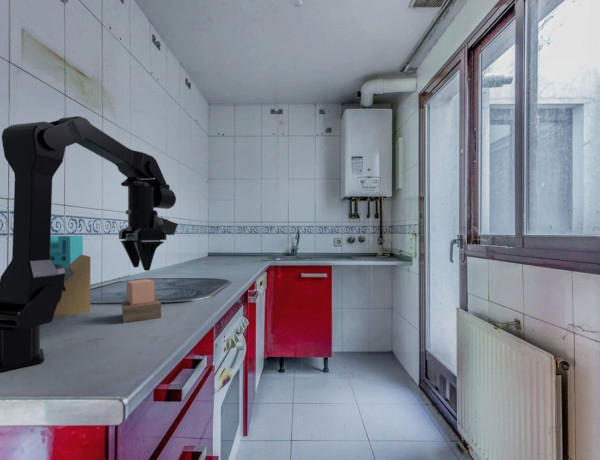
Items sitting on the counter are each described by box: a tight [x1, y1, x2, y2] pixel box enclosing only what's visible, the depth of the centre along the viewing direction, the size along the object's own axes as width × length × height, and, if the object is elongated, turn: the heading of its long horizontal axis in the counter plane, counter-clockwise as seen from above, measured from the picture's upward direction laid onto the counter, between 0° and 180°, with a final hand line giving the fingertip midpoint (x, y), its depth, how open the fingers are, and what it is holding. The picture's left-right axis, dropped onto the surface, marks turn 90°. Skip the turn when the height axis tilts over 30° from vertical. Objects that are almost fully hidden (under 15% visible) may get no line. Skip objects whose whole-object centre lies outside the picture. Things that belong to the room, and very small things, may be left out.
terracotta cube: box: [126, 278, 156, 305], centre depth 78 cm, size 5×5×5 cm
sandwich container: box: [18, 254, 91, 318], centre depth 81 cm, size 9×15×15 cm, turn 139°
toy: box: [50, 235, 84, 269], centre depth 93 cm, size 9×6×20 cm, turn 86°
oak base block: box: [121, 297, 162, 324], centre depth 78 cm, size 8×8×4 cm
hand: (141, 268), depth 78 cm, fingers open, 9 cm apart
